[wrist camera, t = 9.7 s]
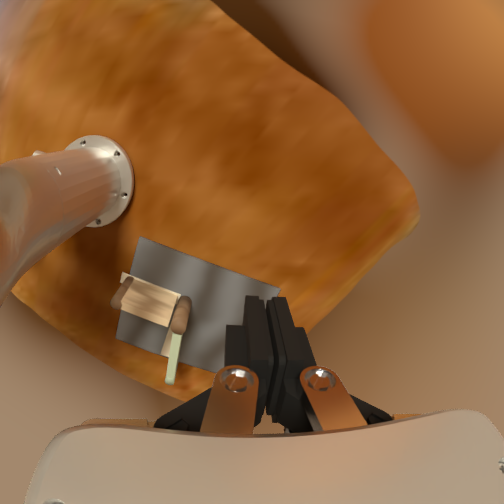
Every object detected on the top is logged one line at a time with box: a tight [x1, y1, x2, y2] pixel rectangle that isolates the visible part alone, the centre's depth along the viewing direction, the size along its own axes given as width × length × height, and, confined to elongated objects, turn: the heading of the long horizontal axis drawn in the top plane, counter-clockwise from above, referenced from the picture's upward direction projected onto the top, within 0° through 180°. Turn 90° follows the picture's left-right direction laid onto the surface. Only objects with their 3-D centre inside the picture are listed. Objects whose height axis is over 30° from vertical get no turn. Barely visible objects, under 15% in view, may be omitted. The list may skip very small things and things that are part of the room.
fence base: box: [110, 236, 280, 373], centre depth 40 cm, size 22×19×7 cm
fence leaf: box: [165, 332, 183, 385], centre depth 41 cm, size 10×1×6 cm, turn 165°
